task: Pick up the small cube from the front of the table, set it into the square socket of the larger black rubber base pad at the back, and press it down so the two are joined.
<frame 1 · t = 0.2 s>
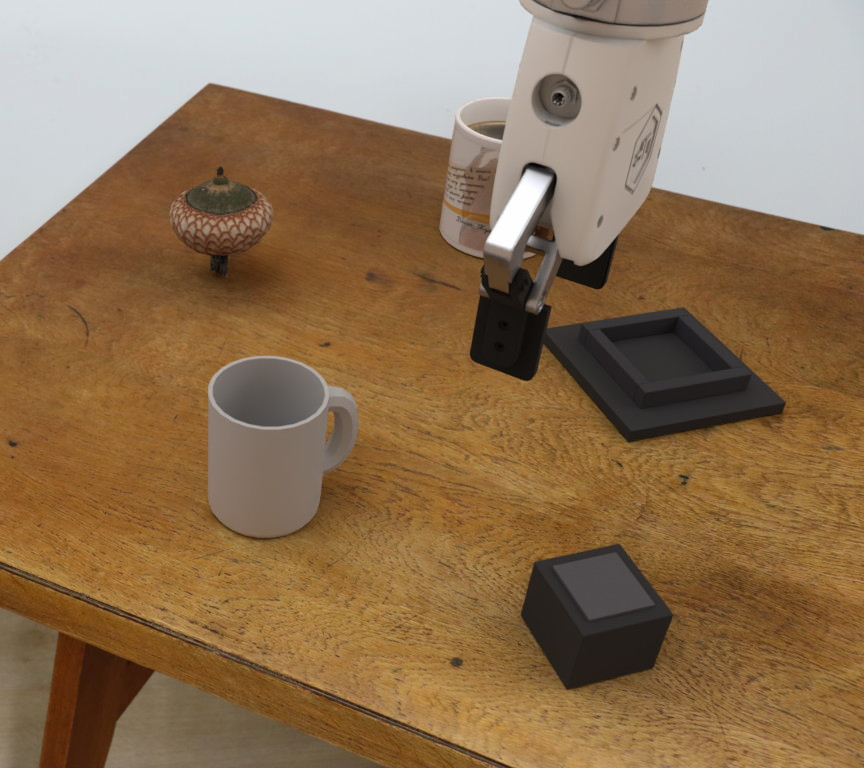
hand: (540, 321, 55), 19 cm above the table, tool pointing down, fingers open, 9 cm apart
small cube: (585, 641, 63), on the table
mug: (504, 235, 101), on the table
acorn: (220, 278, 93), on the table
cup: (283, 497, 72), on the table
base pad: (656, 374, 84), on the table
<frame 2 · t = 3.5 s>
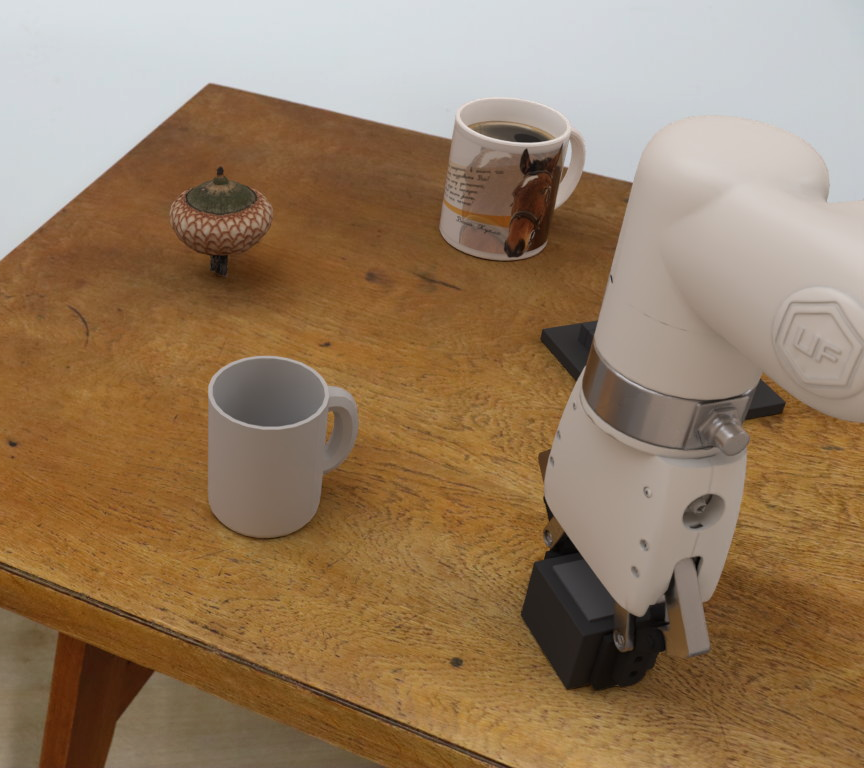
hand: (587, 635, 63), 1 cm above the table, tool pointing down, fingers closed on small cube, 5 cm apart
small cube: (585, 641, 63), on the table, touching gripper
everything else where it was.
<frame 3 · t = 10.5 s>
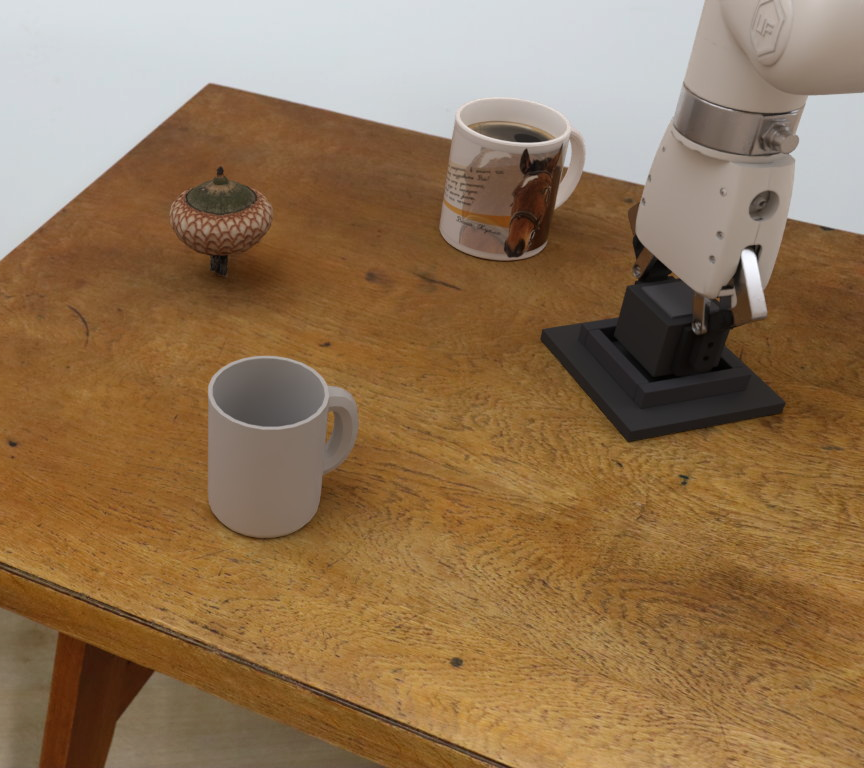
hand: (666, 345, 82), 3 cm above the table, tool pointing down, fingers closed on small cube, 5 cm apart
small cube: (664, 351, 83), point 2 cm above the table, touching gripper
everything else where it was.
when the fingers open (3 cm above the table, at t = 15.6 s): small cube drops 2 cm, resting on base pad.
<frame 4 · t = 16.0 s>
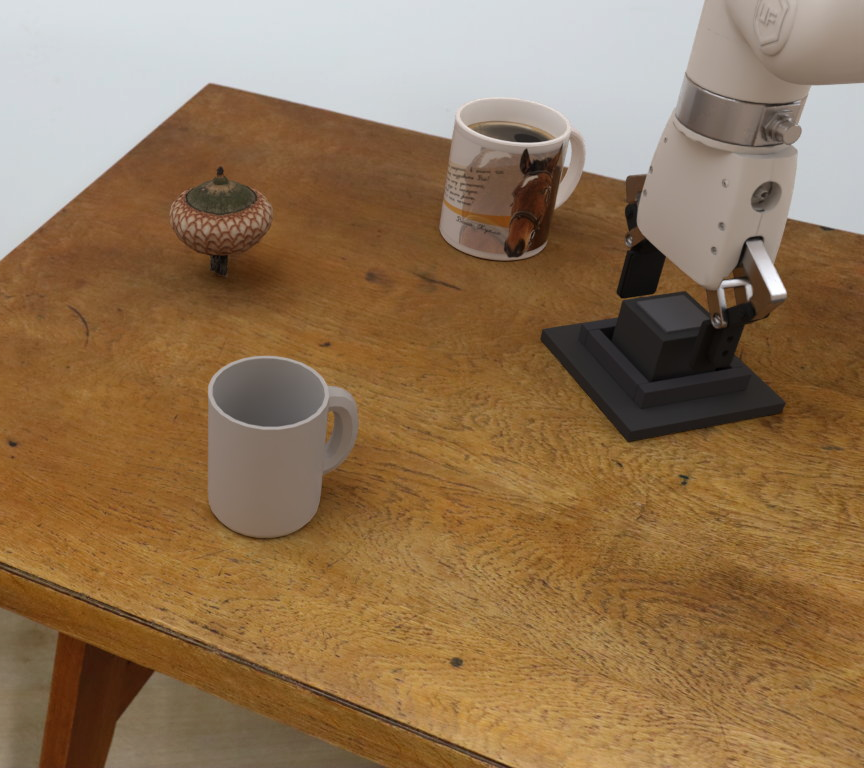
hand: (670, 328, 82), 4 cm above the table, tool pointing down, fingers open, 9 cm apart
small cube: (659, 364, 84), point 1 cm above the table, touching base pad
everything else where it was.
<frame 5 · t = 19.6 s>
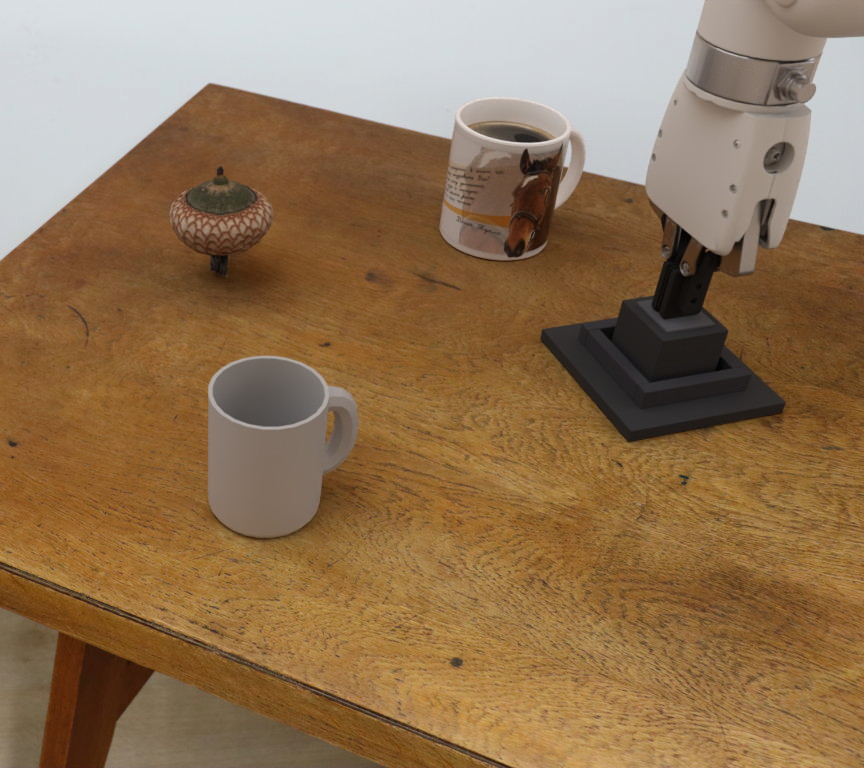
hand: (675, 310, 81), 6 cm above the table, tool pointing down, fingers closed
small cube: (659, 364, 84), point 1 cm above the table, touching base pad, gripper
everything else where it was.
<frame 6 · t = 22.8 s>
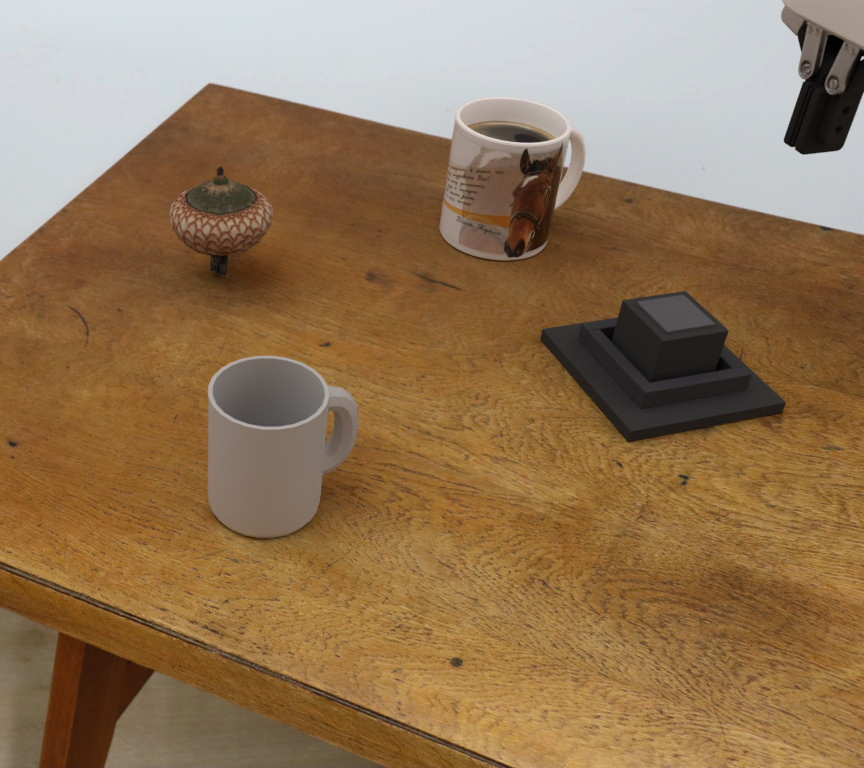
hand: (812, 146, 68), 21 cm above the table, tool pointing down, fingers closed
small cube: (659, 364, 84), point 1 cm above the table, touching base pad
everything else where it was.
at the end: small cube 0.1 cm off-centre on the base pad, point 1.0 cm above the base pad's base; small cube tilted 0°; small cube touching base pad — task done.
